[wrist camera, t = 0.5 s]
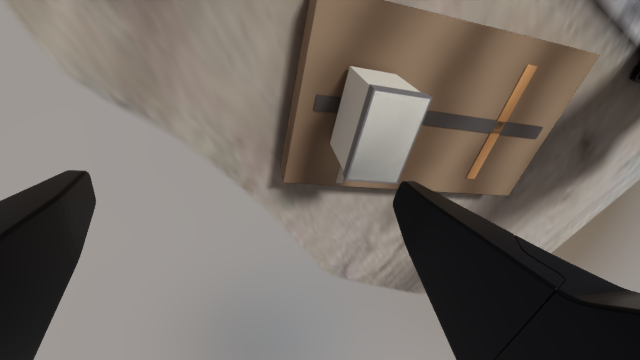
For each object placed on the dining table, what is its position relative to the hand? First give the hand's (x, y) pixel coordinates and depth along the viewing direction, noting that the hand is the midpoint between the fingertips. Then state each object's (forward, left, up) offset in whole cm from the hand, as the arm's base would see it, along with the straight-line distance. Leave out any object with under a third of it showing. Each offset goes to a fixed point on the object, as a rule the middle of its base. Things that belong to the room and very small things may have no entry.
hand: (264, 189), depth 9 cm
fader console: (-13, +1, -13) cm, 18 cm away
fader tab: (-7, +1, -10) cm, 12 cm away
